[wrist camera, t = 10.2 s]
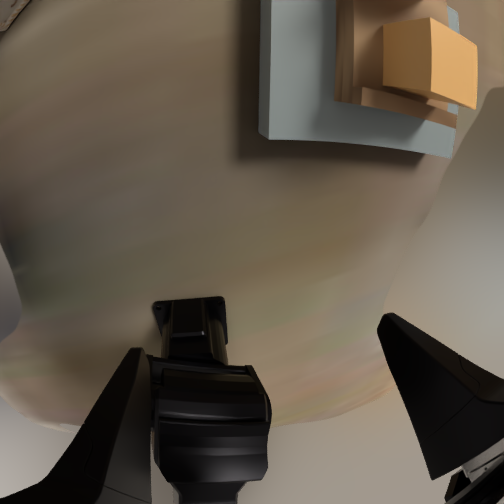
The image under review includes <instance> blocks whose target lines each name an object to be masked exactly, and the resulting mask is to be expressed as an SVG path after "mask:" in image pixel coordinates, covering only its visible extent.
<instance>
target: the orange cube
mask: <svg viewBox="0 0 504 504" xmlns="http://www.w3.org/2000/svg"><path fill="white" fill-rule="evenodd" d="M383 47H384V52H383V86H387V87H391V88H395V89H398V90H402V91H406V92H409V93H412V94H416V95H419V96H422V97H425V98H428V99H432V100H437V101H442V102H446V103H451V104H455V105H459V106H463V107H467V108H471V109H474V110H476V100H477V75H478V64H477V46H476V45H475V44H473V43H472V42H470V41H469V40H467V39H466V38H464V37H463V36H461V35H460V34H458V33H457V32H455V31H453V30H452V29H450V28H448V27H447V26H445V25H443V24H441V23H440V22H438V21H436V20H434V19H432V18H431V17H428V18H420V19H413V20H406V21H400V22H395V23H390V24H385V25H383Z"/></svg>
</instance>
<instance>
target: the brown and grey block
mask: <svg viewBox="0 0 504 504" xmlns="http://www.w3.org/2000/svg"><path fill="white" fill-rule="evenodd" d="M428 17H431V18H432V19H434V20H436V21H438V22H440V23H441V24H443V25H445V26H447V27H448V28H449V22H448V11H447V3H446V0H336V67H335V92H334V101H337V102H344V103H351V104H357V105H363V106H368V107H374V108H379V109H384V110H388V111H393V112H397V113H402V114H406V115H410V116H414V117H417V118H421V119H425V120H428V121H432V122H435V123H439V124H442V125H445V126H448V127H451V128H454V129H456V123H457V115H456V114H453V113H450V112H448V111H447V109H448V103H446V102H442V101H437V100H432V99H428V98H425V97H422V96H419V95H416V94H412V93H409V92H406V91H402V90H398V89H395V88H391V87H387V86H383V52H384V47H383V25H385V24H390V23H395V22H400V21H406V20H413V19H420V18H428Z"/></svg>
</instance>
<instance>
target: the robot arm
mask: <svg viewBox="0 0 504 504" xmlns="http://www.w3.org/2000/svg"><path fill="white" fill-rule="evenodd" d="M219 301H221V302H220V303H218V302H219ZM157 306H160V307H157ZM153 309H154V313H155V316H156V320H157V323H158V326H159V329H160V333H161V336H162V349H161V358H159V357H153V355H147V354H145V352H144V350H143V348H141V347H135V348H131V349H130V350H129V351H128V353H127V354H126V356H125V357H124V359H123V360H122V362H121V363H120V365H119V367H118V368H117V370H116V371H115V373H114V374H113V376H112V377H111V379H110V381H109V382H108V384H107V385H106V387H105V389H104V390H103V392H102V393H101V395H100V397H99V398H98V400H97V401H96V403H95V405H94V406H93V408H92V410H91V411H90V413H89V415H88V416H87V418H86V420H85V421H84V423H85V424H82V426H81V428H80V430H79V431H78V433H77V434H76V436H75V438H74V439H73V441H72V442H71V444H70V445H69V447H68V448H67V449H66V451H65V452H64V454H63V455H62V456H61V458H60V459H59V460H58V462H57V463H56V464H55V466H54V467H53V468H52V470H51V471H50V473H49V474H48V475H47V476H46V477H45V478H44V479H43V480H42V481H40V482H39V483H37V484H35V485H32V486H30V487H28V488H26V489H23V490H21V491H19V492H16V493H14V494H11V495H9V496H6V497H3V498H0V504H151V503H152V498H151V466H150V442H151V444H152V450H153V455H154V460H155V463H156V464H157V466H158V467H159V469H160V471H161V473H162V474H163V476H164V477H165V479H166V481H167V482H169V483H170V484H171V485H172V486H173V504H237V497H238V492H239V491H240V490H241V489H242V488H243V486H244V485H245V484H246V483H247V482H248V481H258V480H262V479H263V477H264V475H265V473H266V471H267V468H268V460H267V441H268V433H269V429H270V424H271V418H272V409H271V403H270V399H269V397H268V395H267V393H266V391H265V389H264V387H263V385H262V383H261V382H260V380H259V378H258V376H257V374H256V372H255V370H254V368H253V366H252V365H245V366H234V365H228V358H227V352H226V344H227V343H228V336H227V323H226V308H225V299H224V298H223V297H221V296H217V297H206V298H194V299H182V300H169V301H157V302H155V303H154V305H153ZM377 334H378V337H379V340H380V343H381V346H382V349H383V352H384V355H385V358H386V361H387V364H388V366H389V369H390V371H391V373H392V376H393V378H394V380H395V383H396V385H397V387H398V390H399V392H400V394H401V397H402V399H403V401H404V404H405V407H406V409H407V412H408V414H409V417H410V420H411V422H412V425H413V428H414V430H415V433H416V436H417V438H418V441H419V443H420V447H421V450H422V453H423V456H424V459H425V462H426V465H427V468H428V471H429V474H430V477H431V480H435V479H437V478H439V477H441V476H443V475H445V474H447V473H449V472H450V471H452V470H454V469H456V468H458V467H460V466H461V467H462V469H460V470H459V471H458V472H456V473H455V474H454V475H452V476H451V480H450V483H449V486H448V489H447V492H446V494H445V501H446V503H445V504H504V379H502V378H499V377H498V376H496V375H494V374H492V373H490V372H488V371H486V370H484V369H482V368H481V367H479V366H477V365H475V364H474V363H472V362H470V361H469V360H467V359H465V358H464V357H462V356H461V355H458V353H456V352H455V351H453V350H452V349H450V348H448V347H447V346H445V345H444V344H442V343H441V342H439V341H438V340H436V339H434V338H433V337H431V336H430V335H428V334H426V333H425V332H423V331H422V330H420V329H419V328H417V327H415V326H414V325H412V324H411V323H409V322H407V321H406V320H404V319H403V318H401V317H399V316H398V315H396V314H395V313H387V314H384V315H383V316H382V318H381V321H380V323H379V325H378V328H377Z"/></svg>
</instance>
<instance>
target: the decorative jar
mask: <svg viewBox="0 0 504 504" xmlns="http://www.w3.org/2000/svg"><path fill="white" fill-rule="evenodd" d="M29 1H30V0H0V31H6V30H7V29H8V27H9V26H10V24H11V23H12V22H13V20H14V19H15V18H16V16H17V15H18V13H19V12H20V11H21V10H22V9H23V8H24V7H25V6H26V4H27V3H28V2H29Z"/></svg>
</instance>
